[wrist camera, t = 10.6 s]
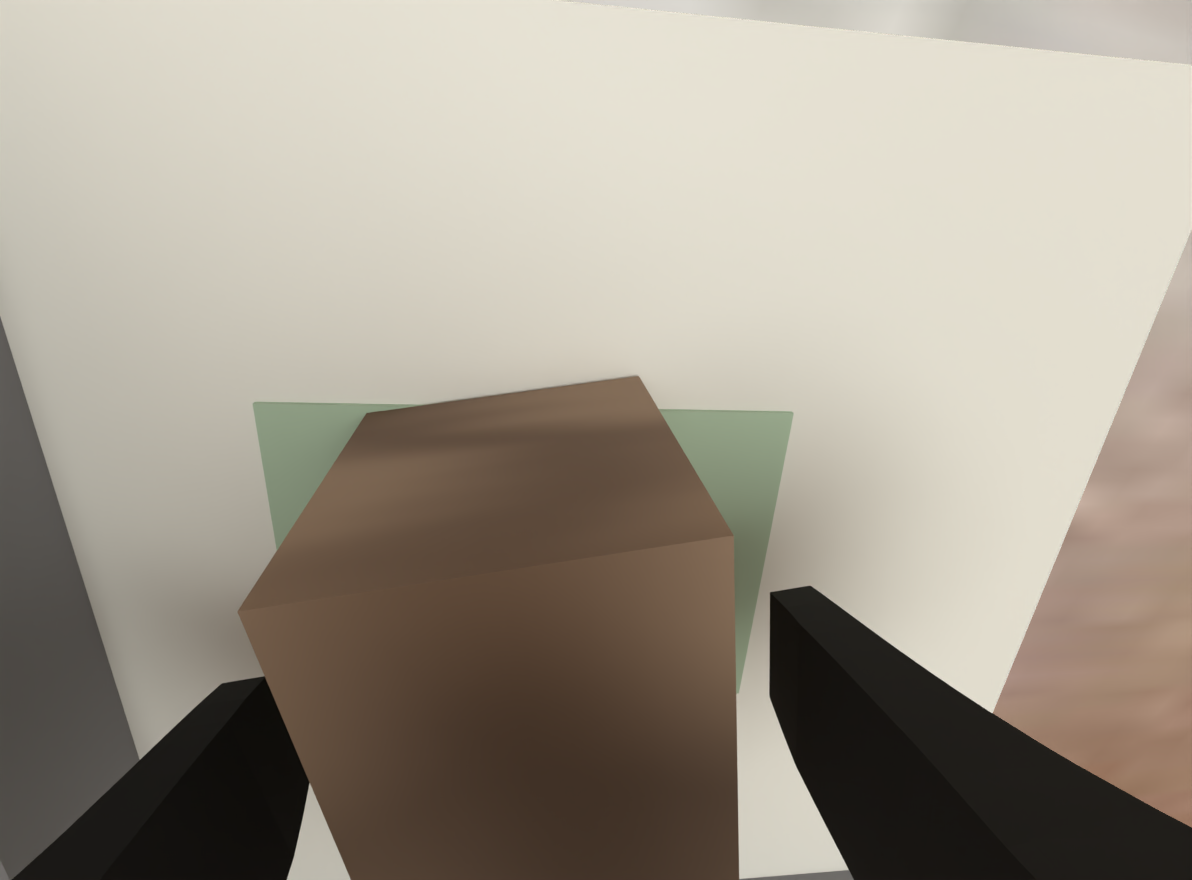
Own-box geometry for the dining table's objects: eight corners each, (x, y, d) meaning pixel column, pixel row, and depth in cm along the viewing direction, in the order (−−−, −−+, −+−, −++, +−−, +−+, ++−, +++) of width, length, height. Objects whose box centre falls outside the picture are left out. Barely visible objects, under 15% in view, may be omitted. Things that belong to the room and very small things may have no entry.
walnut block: (451, 724, 13) (413, 1028, 8) (366, 412, 10) (237, 612, 5) (663, 689, 13) (740, 963, 9) (639, 375, 10) (734, 534, 6)
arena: (160, 931, 15) (61, 1137, 12) (-186, -63, 8) (-725, -247, 4) (906, 869, 18) (994, 1025, 15) (1216, 77, 10) (1552, 29, 7)
